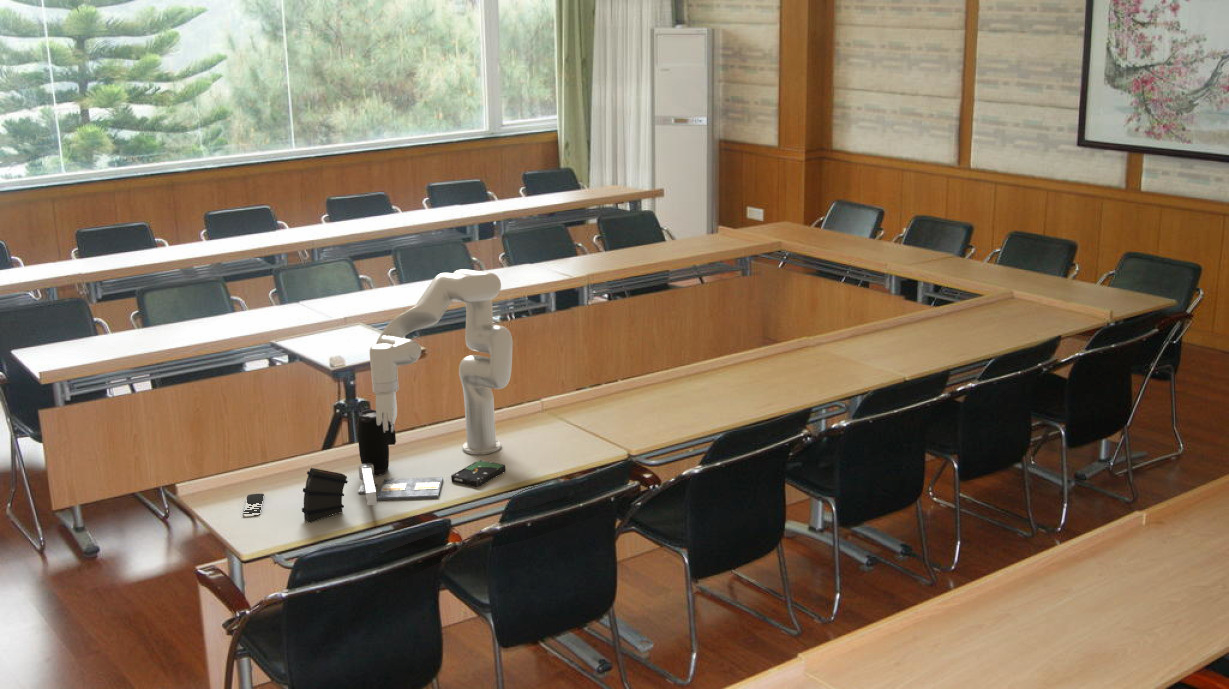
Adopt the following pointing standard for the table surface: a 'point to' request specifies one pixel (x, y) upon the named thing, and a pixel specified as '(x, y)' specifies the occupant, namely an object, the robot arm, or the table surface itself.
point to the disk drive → (478, 473)
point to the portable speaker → (372, 442)
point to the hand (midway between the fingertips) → (390, 443)
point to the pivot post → (362, 489)
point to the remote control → (254, 502)
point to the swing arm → (368, 482)
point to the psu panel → (410, 488)
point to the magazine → (323, 494)
